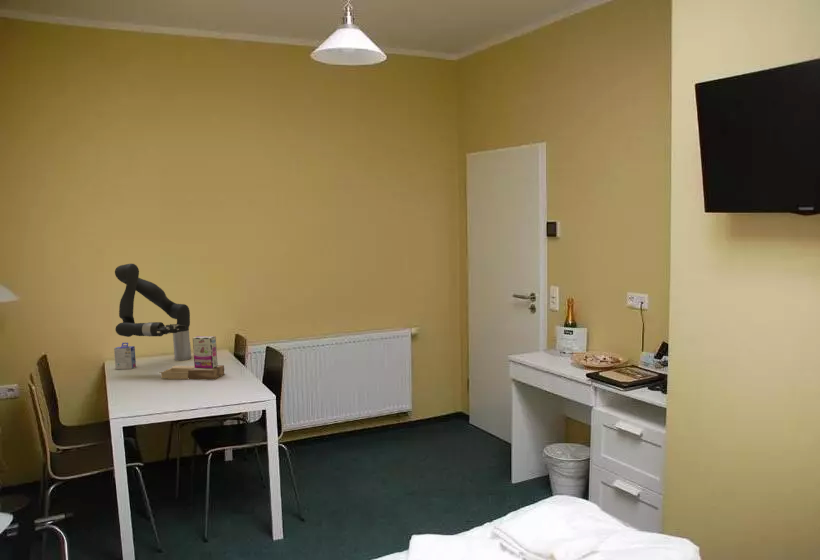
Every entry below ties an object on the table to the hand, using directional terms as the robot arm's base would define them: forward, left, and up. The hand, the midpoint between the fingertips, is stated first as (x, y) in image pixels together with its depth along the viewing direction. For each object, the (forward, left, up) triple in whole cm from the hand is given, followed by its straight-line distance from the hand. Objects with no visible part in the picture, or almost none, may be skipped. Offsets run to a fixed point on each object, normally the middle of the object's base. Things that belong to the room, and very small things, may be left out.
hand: (181, 329), depth 343 cm
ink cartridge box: (-16, -45, -26) cm, 54 cm away
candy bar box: (0, +13, -21) cm, 24 cm away
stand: (0, +13, -26) cm, 29 cm away
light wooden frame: (0, -3, -26) cm, 26 cm away
